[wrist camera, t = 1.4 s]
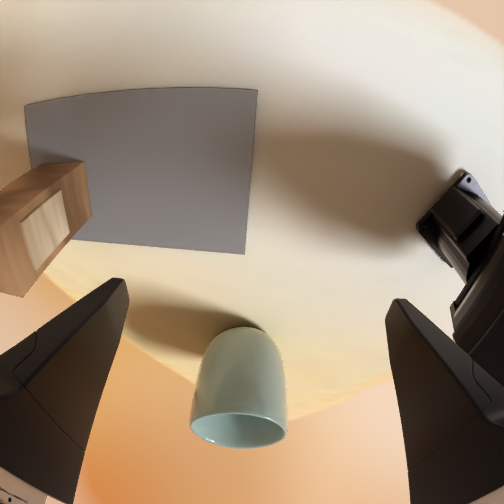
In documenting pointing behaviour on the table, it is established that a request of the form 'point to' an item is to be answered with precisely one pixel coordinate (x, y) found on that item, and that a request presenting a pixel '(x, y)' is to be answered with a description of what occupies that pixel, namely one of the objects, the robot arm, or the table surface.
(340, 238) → the table surface
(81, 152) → the mat
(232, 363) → the cup
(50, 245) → the block
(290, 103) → the table surface
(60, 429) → the robot arm
